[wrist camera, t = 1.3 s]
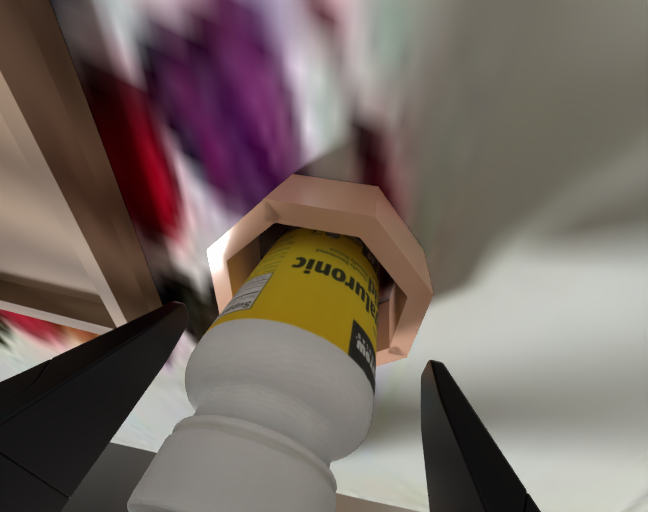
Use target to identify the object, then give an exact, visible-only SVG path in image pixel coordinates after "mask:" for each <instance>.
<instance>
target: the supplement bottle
mask: <svg viewBox="0 0 648 512" xmlns="http://www.w3.org/2000/svg"><path fill="white" fill-rule="evenodd" d="M379 284H380V272H379V263H378V260H377V258H376V257H375V256H374V254H373V253H372V252H371V251H370V249H369V248H368V247H367V246H366V244H365V243H364V242H363V241H362V239H361V238H360V237H355V236H349V235H343V234H338V233H332V232H326V231H320V230H315V229H309V228H303V227H297V226H292V227H291V228H289V229H288V230H286V231H285V232H284V233H283V234H282V235H281V236H280V237H279V238H278V240H277V241H276V242H275V243H274V245H273V246H272V247H271V248H270V250H269V251H268V252H267V254H266V255H265V256H264V257H263V259H262V260H261V261H260V263H259V264H258V265H257V267H256V268H255V269H254V271H253V272H252V273H251V274H250V276H249V277H248V278H247V280H246V281H245V282H244V284H243V285H242V286H241V288H240V289H239V290H238V291H237V293H236V294H235V295H234V297H233V298H232V299H231V301H230V302H229V303H228V305H227V306H226V307H225V308H224V310H223V311H222V312H221V314H220V315H219V316H218V318H217V319H216V320H215V321H214V323H213V324H212V325H211V327H210V328H209V329H208V331H207V332H206V333H205V334H204V336H203V337H202V339H201V340H200V342H199V343H198V345H197V346H196V348H195V349H194V351H193V352H192V354H191V356H190V358H189V361H188V364H187V367H186V372H185V387H186V392H187V396H188V399H189V401H190V403H191V405H192V407H193V408H194V410H195V414H194V415H193V416H191V417H187V418H184V419H183V420H181V421H180V422H179V423H177V424H176V426H175V427H174V429H173V432H172V434H171V435H169V436H168V437H167V439H166V440H165V441H164V443H163V444H162V446H161V448H160V449H159V451H158V453H157V454H156V456H155V457H154V459H153V461H152V462H151V464H150V466H149V467H148V469H147V471H146V472H145V474H144V475H143V477H142V478H141V480H140V482H139V483H138V485H137V487H136V488H135V490H134V491H133V493H132V495H131V497H130V499H129V501H128V503H127V509H128V511H129V512H336V497H335V492H336V490H337V485H336V480H335V477H334V475H333V473H332V472H331V470H330V469H329V467H330V462H333V461H337V460H339V459H342V458H344V457H346V456H348V455H349V454H351V453H352V452H353V451H355V450H356V449H357V448H358V447H359V446H360V444H361V443H362V442H363V441H364V439H365V437H366V435H367V433H368V431H369V428H370V425H371V421H372V415H373V404H374V394H375V370H376V349H377V329H378V309H379Z"/></svg>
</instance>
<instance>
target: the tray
mask: <svg viewBox="0 0 648 512" xmlns="http://www.w3.org/2000/svg"><path fill="white" fill-rule="evenodd" d="M161 306H163V305H162V303H161V300H160V297H159V295H158V292H157V289H156V286H155V284H154V281H153V278H152V276H151V273H150V270H149V268H148V265H147V262H146V260H145V257H144V254H143V251H142V249H141V246H140V243H139V241H138V238H137V235H136V233H135V230H134V227H133V224H132V222H131V219H130V216H129V214H128V211H127V208H126V206H125V203H124V200H123V197H122V195H121V192H120V189H119V187H118V184H117V181H116V179H115V176H114V173H113V170H112V168H111V165H110V162H109V160H108V157H107V154H106V152H105V149H104V146H103V144H102V141H101V138H100V135H99V133H98V130H97V127H96V125H95V122H94V119H93V117H92V114H91V111H90V108H89V106H88V103H87V100H86V98H85V95H84V92H83V90H82V87H81V84H80V81H79V79H78V76H77V73H76V71H75V68H74V65H73V63H72V60H71V57H70V54H69V52H68V49H67V46H66V44H65V41H64V38H63V36H62V33H61V30H60V28H59V25H58V22H57V19H56V17H55V14H54V11H53V9H52V6H51V3H50V1H49V0H0V309H3V310H7V311H11V312H15V313H19V314H22V315H26V316H30V317H34V318H38V319H42V320H46V321H50V322H53V323H57V324H61V325H65V326H69V327H73V328H77V329H81V330H85V331H88V332H92V333H96V334H100V335H102V334H105V333H107V332H109V331H111V330H113V329H115V328H117V327H119V326H121V325H124V324H126V323H128V322H130V321H132V320H134V319H136V318H138V317H140V316H143V315H145V314H147V313H149V312H151V311H153V310H155V309H157V308H159V307H161Z"/></svg>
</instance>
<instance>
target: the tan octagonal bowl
mask: <svg viewBox="0 0 648 512" xmlns="http://www.w3.org/2000/svg"><path fill="white" fill-rule="evenodd" d="M274 223H280V224H286V225H292V226H297V227H303V228H309V229H315V230H320V231H326V232H332V233H338V234H343V235H349V236H355V237H360V238H361V239H362V241H363V242H364V243H365V244H366V246H367V247H368V248H369V249H370V251H371V252H372V253H373V254H374V256H375V257H376V258H377V259H378V261H379V262H380V263H381V264H382V266H383V267H384V268H385V269H386V271H387V272H388V273H389V274H390V276H391V277H392V278H393V279H394V281H395V283H394V286H393V290H392V293H391V296H390V300H389V301H386V302H384V303H382V304H379V309H378V329H377V349H376V366H379V365H382V364H386V363H389V362H392V361H396V360H399V359H403V358H406V357H407V355H408V353H409V351H410V348H411V346H412V344H413V341H414V339H415V337H416V334H417V332H418V330H419V327H420V325H421V323H422V320H423V318H424V316H425V313H426V311H427V309H428V306H429V304H430V302H431V299H432V297H433V295H434V293H433V289H432V284H431V280H430V275H429V271H428V266H427V262H426V257H425V253H424V250H423V249H422V247H421V246H420V244H419V243H418V242H417V240H416V239H415V237H414V236H413V235H412V233H411V232H410V230H409V229H408V228H407V226H406V225H405V223H404V222H403V221H402V219H401V218H400V216H399V215H398V214H397V212H396V211H395V209H394V208H393V207H392V205H391V204H390V202H389V201H388V200H387V198H386V197H385V195H384V194H383V193H382V191H381V190H380V188H379V187H378V186H372V185H365V184H358V183H351V182H344V181H338V180H331V179H324V178H317V177H310V176H303V175H297V174H292V175H291V176H290V177H288V178H287V179H286V180H285V181H284V182H283V183H281V184H280V185H279V186H278V187H277V188H276V189H274V190H273V191H272V192H271V193H270V194H269V195H267V196H266V197H265V198H264V199H263V200H262V201H261V202H260V203H259V204H258V205H257V206H256V207H255V208H253V209H252V210H251V211H250V212H249V213H248V214H247V215H246V216H244V217H243V218H242V219H241V220H240V221H239V222H238V223H237V224H235V225H234V226H233V227H232V228H231V229H230V230H229V231H228V232H226V233H225V234H224V235H223V236H222V237H221V238H220V239H218V240H217V241H216V242H215V243H214V244H213V245H211V246H210V247H209V248H208V249H207V250H206V251H207V254H208V259H209V264H210V269H211V274H212V279H213V284H214V289H215V294H216V298H217V303H218V308H219V313H220V314H221V312H222V311H223V310H224V308H225V307H226V306H227V305H228V303H229V302H230V301H231V299H232V298H233V297H234V295H235V294H236V293H237V291H238V290H239V289H240V288H241V286H242V285H243V284H244V282H245V281H246V280H247V278H248V277H249V276H250V274H251V273H252V272H253V271H254V269H255V268H256V267H257V265H258V264H259V263H260V261H261V256H260V241H259V235H260V234H261V233H262V232H264V231H265V230H266V229H267V228H269V227H270V226H271V225H272V224H274Z"/></svg>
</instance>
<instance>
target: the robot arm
mask: <svg viewBox="0 0 648 512" xmlns="http://www.w3.org/2000/svg"><path fill="white" fill-rule="evenodd" d="M188 322H189V316H188V312H187V309H186V306H185V304H184V303H181V302H176V301H173V302H170V303H168V304H166V305H164V306H161V307H159V308H157V309H155V310H153V311H151V312H149V313H147V314H145V315H143V316H140V317H138V318H136V319H134V320H132V321H130V322H128V323H126V324H124V325H121V326H119V327H117V328H115V329H113V330H111V331H109V332H107V333H105V334H102V335H100V336H98V337H96V338H94V339H92V340H90V341H88V342H86V343H83V344H81V345H79V346H77V347H75V348H73V349H71V350H69V351H67V352H64V353H62V354H60V355H58V356H56V357H54V358H52V360H47V361H45V362H43V363H41V364H39V365H37V366H35V367H33V368H30V369H28V370H26V371H24V372H22V373H20V374H17V375H15V376H13V377H11V378H9V379H6V380H4V381H2V382H0V512H61V510H62V509H63V507H64V506H65V505H66V503H67V502H68V500H69V498H70V497H71V496H72V494H73V493H74V491H75V490H76V489H77V487H78V486H79V484H80V483H81V482H82V480H83V479H84V477H85V476H86V475H87V473H88V472H89V470H90V469H91V467H92V466H93V465H94V463H95V462H96V461H97V459H98V458H99V456H100V455H101V453H102V452H103V451H104V449H105V448H106V446H107V445H108V444H109V442H110V441H111V439H112V438H113V436H114V435H115V434H116V432H117V431H118V429H119V428H120V427H121V425H122V424H123V422H124V421H125V419H126V418H127V417H128V415H129V414H130V412H131V411H132V410H133V408H134V407H135V405H136V404H137V402H138V401H139V400H140V398H141V397H142V395H143V394H144V393H145V391H146V390H147V388H148V387H149V385H150V384H151V383H152V381H153V380H154V378H155V377H156V376H157V374H158V373H159V371H160V370H161V368H162V367H163V366H164V364H165V363H166V361H167V359H168V358H169V356H170V355H171V353H172V351H173V349H174V348H175V346H176V344H177V342H178V341H179V339H180V337H181V335H182V334H183V332H184V330H185V328H186V327H187V325H188ZM421 432H422V443H423V452H424V461H425V470H426V480H427V489H428V498H429V508H430V512H541V511H540V510H539V508H538V507H537V505H536V504H535V502H534V501H533V499H532V498H531V496H530V495H529V494H528V493H527V491H526V489H525V487H524V486H523V484H522V483H521V481H520V480H519V478H518V476H517V475H516V473H515V472H514V470H513V469H512V467H511V466H510V464H509V463H508V461H507V460H506V458H505V457H504V455H503V454H502V452H501V451H500V449H499V447H498V446H497V444H496V443H495V441H494V440H493V438H492V437H491V435H490V434H489V432H488V431H487V429H486V428H485V426H484V425H483V423H482V422H481V420H480V418H479V417H478V415H477V414H476V412H475V411H474V409H473V408H472V406H471V405H470V403H469V402H468V400H467V399H466V397H465V396H464V394H463V393H462V391H461V389H460V388H459V386H458V385H457V383H456V382H455V380H454V379H453V377H452V376H451V374H450V373H449V371H448V370H447V368H446V367H445V365H444V364H443V363H442V362H439V361H435V360H429V361H428V363H427V365H426V367H425V369H424V371H423V373H422V376H421Z"/></svg>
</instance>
